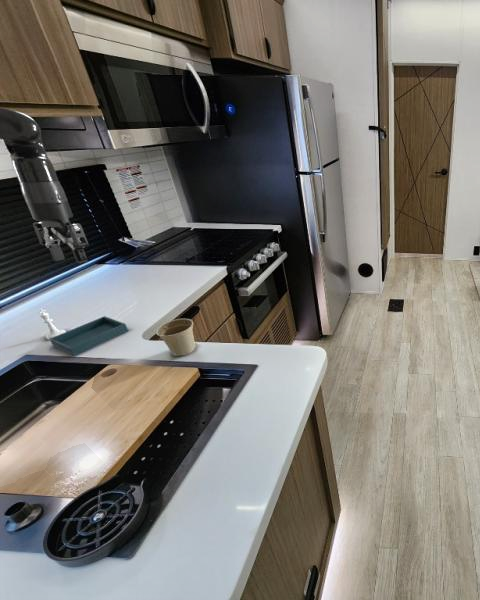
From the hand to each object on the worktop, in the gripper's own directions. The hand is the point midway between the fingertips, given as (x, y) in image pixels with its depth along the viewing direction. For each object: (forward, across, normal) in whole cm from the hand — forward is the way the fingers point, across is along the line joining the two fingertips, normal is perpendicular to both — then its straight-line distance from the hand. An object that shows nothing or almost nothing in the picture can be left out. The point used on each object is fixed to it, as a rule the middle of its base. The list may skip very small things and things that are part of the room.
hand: (71, 261), depth 91 cm
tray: (+28, -11, +4) cm, 30 cm away
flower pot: (+28, +24, +6) cm, 37 cm away
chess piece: (+28, -25, +2) cm, 38 cm away
